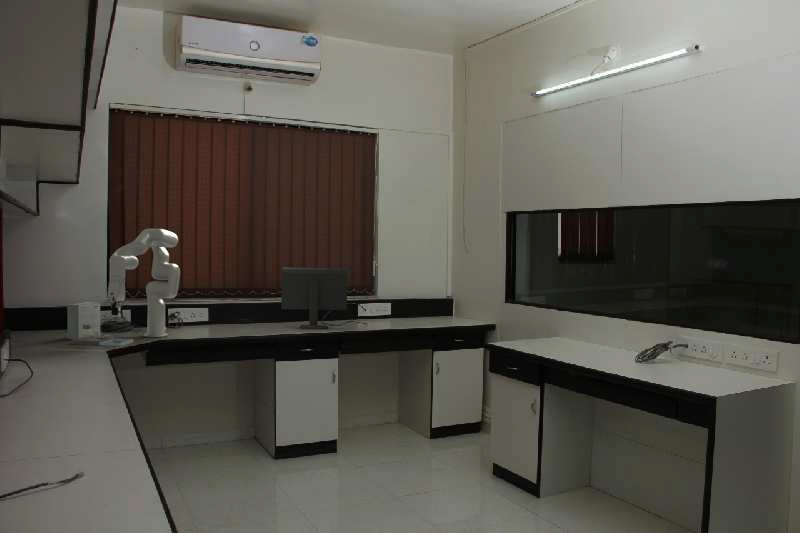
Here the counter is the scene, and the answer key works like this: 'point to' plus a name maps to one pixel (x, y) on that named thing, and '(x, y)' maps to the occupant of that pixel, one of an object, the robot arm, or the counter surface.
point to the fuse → (86, 331)
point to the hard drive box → (83, 319)
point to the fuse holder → (92, 340)
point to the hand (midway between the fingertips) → (116, 314)
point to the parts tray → (108, 343)
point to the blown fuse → (117, 317)
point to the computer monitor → (314, 291)
